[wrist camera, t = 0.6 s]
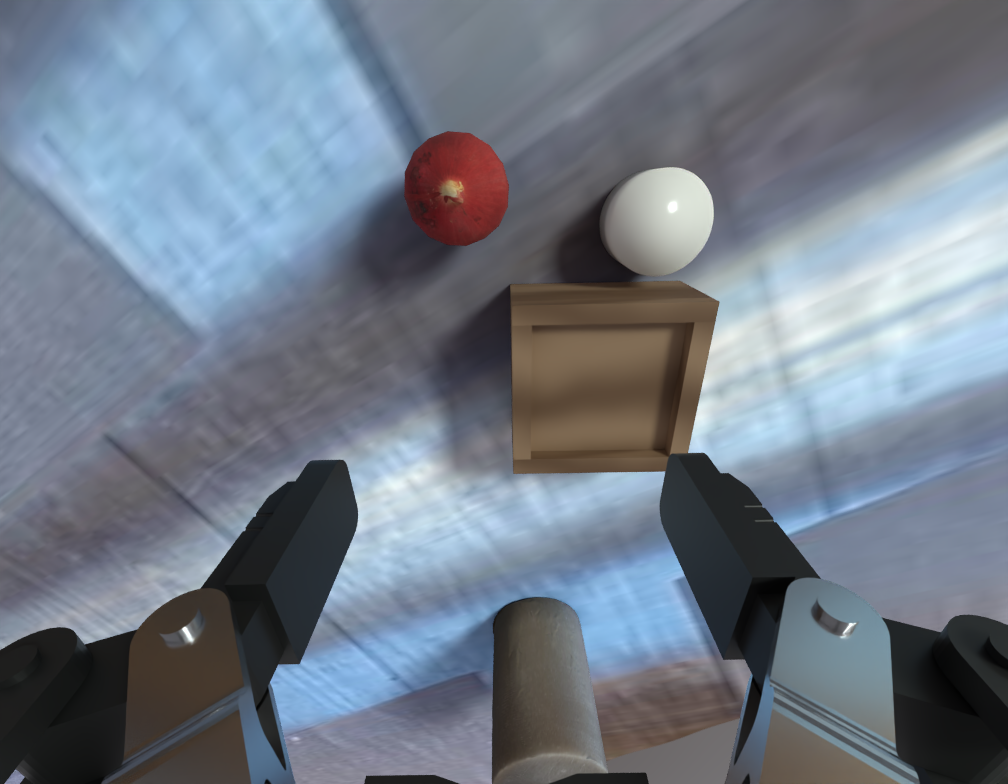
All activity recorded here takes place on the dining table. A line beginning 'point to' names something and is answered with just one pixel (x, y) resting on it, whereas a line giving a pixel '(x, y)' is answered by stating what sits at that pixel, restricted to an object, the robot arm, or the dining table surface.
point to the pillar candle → (542, 696)
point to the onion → (456, 188)
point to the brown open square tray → (606, 374)
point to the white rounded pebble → (657, 220)
